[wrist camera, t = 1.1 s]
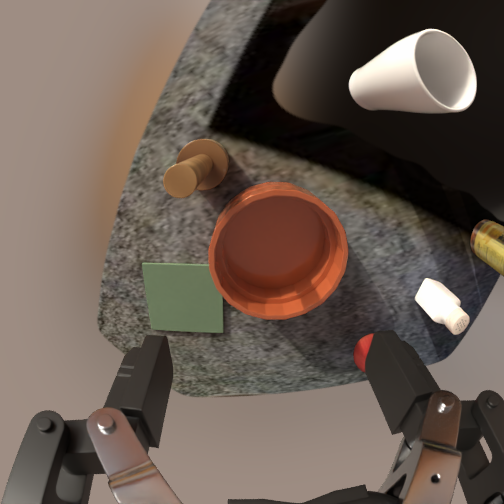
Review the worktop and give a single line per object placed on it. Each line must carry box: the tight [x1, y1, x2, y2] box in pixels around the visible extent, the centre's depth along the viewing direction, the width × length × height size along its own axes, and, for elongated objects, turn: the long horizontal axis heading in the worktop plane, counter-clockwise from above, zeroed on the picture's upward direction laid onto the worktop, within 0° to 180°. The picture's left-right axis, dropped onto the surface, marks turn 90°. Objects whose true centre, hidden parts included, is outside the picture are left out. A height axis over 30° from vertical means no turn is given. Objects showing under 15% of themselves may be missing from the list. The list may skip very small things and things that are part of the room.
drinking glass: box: [349, 29, 477, 114], centre depth 21 cm, size 7×7×15 cm
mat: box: [142, 263, 223, 333], centre depth 37 cm, size 10×10×1 cm
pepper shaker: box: [415, 278, 469, 335], centre depth 34 cm, size 4×4×10 cm
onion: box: [353, 334, 374, 373], centre depth 37 cm, size 6×6×8 cm
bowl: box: [209, 182, 348, 320], centre depth 32 cm, size 14×14×6 cm
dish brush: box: [163, 139, 229, 198], centre depth 24 cm, size 5×5×14 cm
